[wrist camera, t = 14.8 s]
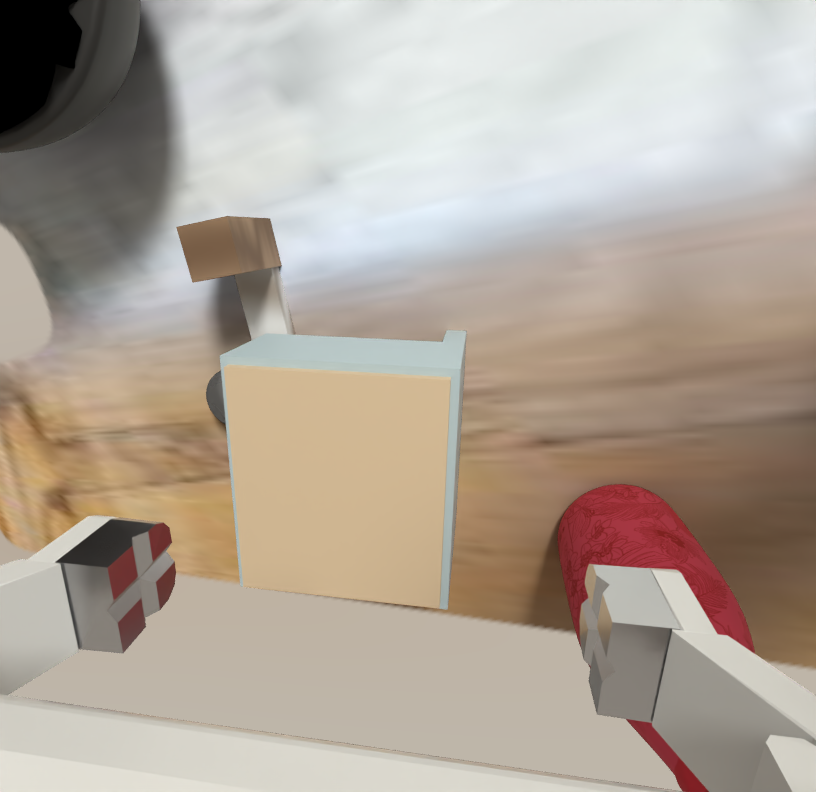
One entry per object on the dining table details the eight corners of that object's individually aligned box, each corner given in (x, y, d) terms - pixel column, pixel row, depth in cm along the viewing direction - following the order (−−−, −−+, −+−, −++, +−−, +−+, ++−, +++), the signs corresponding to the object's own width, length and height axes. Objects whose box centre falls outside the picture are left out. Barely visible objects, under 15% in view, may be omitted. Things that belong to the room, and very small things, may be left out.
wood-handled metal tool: (227, 227, 40) (176, 227, 33) (270, 218, 39) (226, 216, 32) (284, 439, 45) (249, 476, 38) (323, 434, 44) (294, 470, 37)
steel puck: (212, 364, 44) (200, 370, 42) (269, 360, 43) (259, 366, 41) (224, 420, 45) (213, 429, 43) (279, 418, 44) (270, 426, 42)
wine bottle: (691, 566, 43) (1097, 1217, 15) (572, 593, 45) (724, 1202, 17) (661, 461, 41) (1073, 994, 12) (537, 495, 43) (645, 1011, 15)
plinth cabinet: (288, 322, 41) (214, 358, 30) (466, 330, 40) (460, 371, 28) (297, 502, 46) (236, 592, 35) (456, 516, 44) (447, 615, 33)
